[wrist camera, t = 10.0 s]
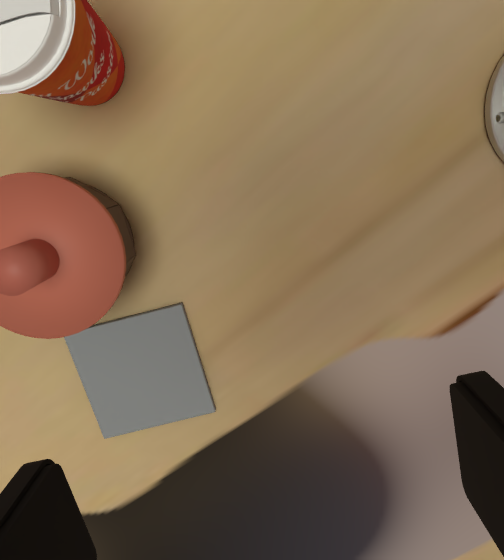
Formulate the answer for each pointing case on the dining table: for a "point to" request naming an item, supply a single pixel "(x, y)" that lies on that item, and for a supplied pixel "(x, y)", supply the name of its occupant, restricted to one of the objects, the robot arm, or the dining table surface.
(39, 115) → the dining table surface
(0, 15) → the coffee cup
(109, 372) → the mat
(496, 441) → the robot arm
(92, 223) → the lid
